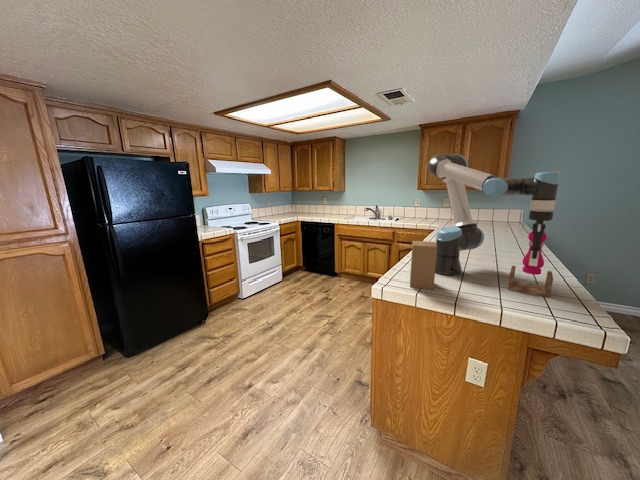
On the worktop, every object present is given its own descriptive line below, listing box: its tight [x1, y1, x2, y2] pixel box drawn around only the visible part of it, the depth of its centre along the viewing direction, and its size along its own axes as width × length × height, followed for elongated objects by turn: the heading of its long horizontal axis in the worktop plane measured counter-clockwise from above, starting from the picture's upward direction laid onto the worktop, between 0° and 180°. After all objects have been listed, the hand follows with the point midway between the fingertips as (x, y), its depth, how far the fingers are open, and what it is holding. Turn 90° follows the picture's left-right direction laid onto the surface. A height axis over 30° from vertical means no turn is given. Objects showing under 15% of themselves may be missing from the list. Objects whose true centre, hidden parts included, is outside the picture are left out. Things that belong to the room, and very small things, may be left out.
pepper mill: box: [522, 230, 548, 276], centre depth 109 cm, size 7×7×20 cm
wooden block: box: [409, 240, 437, 291], centre depth 118 cm, size 10×10×20 cm
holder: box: [507, 265, 554, 298], centre depth 113 cm, size 14×11×8 cm
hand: (532, 263), depth 111 cm, fingers closed on pepper mill, 7 cm apart
